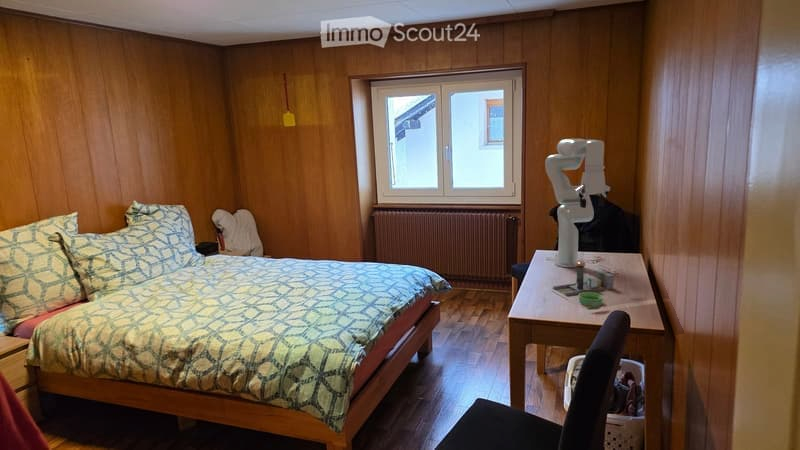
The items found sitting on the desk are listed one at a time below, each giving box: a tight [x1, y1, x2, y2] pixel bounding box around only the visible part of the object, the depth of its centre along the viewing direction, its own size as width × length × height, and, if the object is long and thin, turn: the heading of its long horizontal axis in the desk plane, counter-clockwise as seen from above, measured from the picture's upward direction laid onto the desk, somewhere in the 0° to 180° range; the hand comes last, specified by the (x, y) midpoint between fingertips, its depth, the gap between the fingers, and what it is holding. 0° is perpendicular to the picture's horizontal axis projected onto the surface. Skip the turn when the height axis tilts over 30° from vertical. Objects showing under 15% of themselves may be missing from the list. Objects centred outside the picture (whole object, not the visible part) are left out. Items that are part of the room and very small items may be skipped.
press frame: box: [551, 269, 618, 301], centre depth 212 cm, size 12×24×8 cm, turn 106°
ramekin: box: [578, 292, 604, 311], centre depth 196 cm, size 9×9×4 cm
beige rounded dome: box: [597, 279, 601, 288], centre depth 213 cm, size 4×4×3 cm
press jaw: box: [569, 260, 597, 291], centre depth 211 cm, size 7×9×12 cm
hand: (592, 206), depth 223 cm, fingers open, 9 cm apart
